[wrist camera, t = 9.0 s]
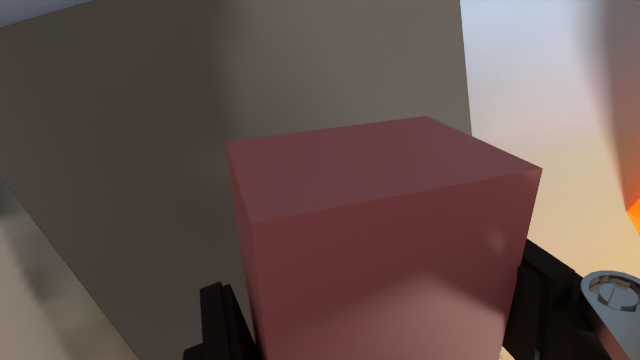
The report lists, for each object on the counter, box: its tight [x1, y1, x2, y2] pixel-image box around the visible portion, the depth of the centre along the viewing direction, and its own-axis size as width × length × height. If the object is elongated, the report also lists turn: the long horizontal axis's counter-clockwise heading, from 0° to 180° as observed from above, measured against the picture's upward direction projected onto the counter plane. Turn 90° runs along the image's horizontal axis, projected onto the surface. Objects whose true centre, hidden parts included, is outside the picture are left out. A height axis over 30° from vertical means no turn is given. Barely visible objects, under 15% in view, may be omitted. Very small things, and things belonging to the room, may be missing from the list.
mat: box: [0, 0, 472, 360], centre depth 18 cm, size 18×20×1 cm
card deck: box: [225, 116, 542, 360], centre depth 10 cm, size 6×8×4 cm, turn 2°
